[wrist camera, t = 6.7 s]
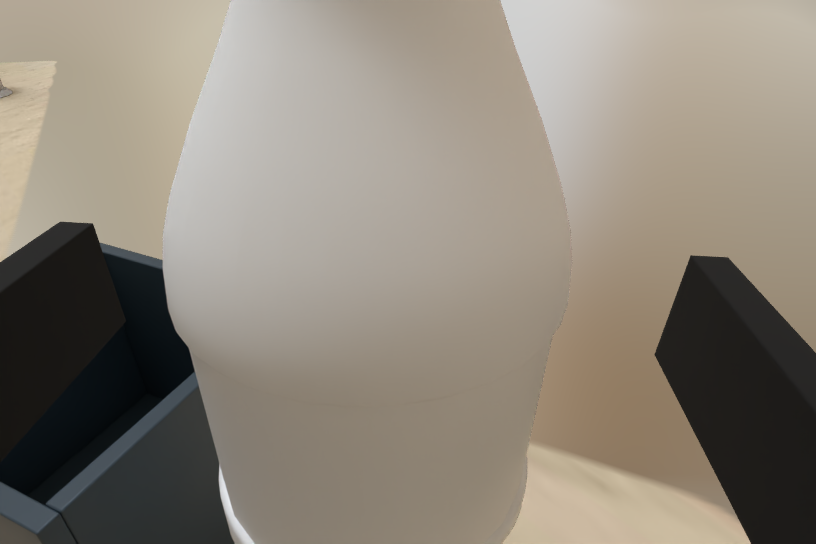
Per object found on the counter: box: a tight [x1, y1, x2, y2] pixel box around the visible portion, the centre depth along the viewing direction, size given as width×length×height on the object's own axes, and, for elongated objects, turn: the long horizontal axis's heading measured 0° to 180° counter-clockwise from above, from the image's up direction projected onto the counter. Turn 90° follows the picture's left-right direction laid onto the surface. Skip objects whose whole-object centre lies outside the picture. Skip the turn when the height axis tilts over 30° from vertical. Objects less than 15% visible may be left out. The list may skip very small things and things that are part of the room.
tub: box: [0, 243, 235, 544], centre depth 20 cm, size 11×11×10 cm
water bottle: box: [163, 0, 572, 544], centre depth 12 cm, size 7×7×25 cm
